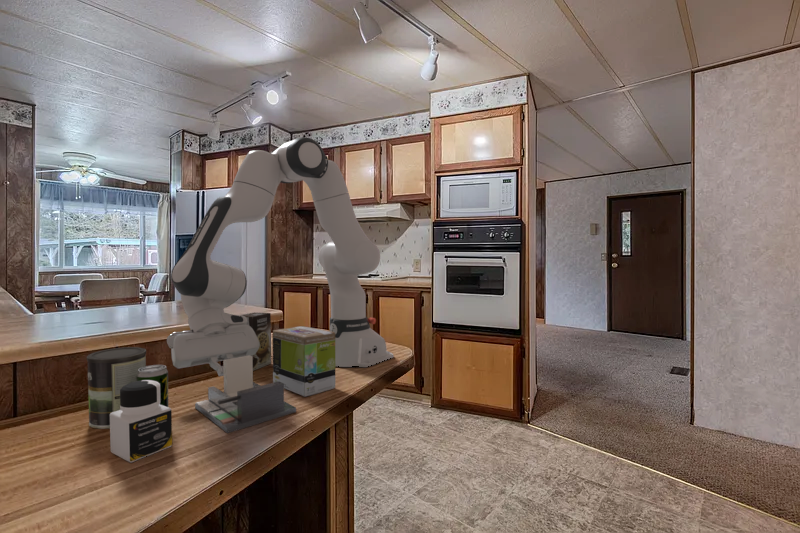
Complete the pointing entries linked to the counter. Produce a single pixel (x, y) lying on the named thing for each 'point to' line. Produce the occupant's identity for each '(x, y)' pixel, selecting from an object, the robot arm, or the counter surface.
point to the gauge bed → (246, 406)
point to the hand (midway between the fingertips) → (226, 374)
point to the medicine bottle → (140, 422)
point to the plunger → (237, 376)
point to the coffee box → (261, 337)
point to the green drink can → (156, 379)
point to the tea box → (304, 359)
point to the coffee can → (110, 380)
